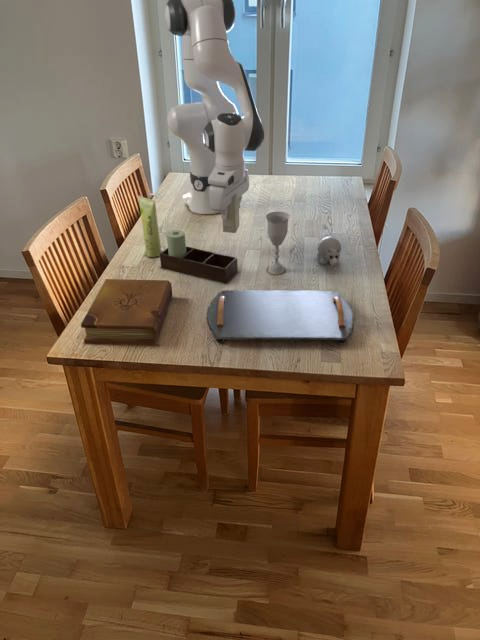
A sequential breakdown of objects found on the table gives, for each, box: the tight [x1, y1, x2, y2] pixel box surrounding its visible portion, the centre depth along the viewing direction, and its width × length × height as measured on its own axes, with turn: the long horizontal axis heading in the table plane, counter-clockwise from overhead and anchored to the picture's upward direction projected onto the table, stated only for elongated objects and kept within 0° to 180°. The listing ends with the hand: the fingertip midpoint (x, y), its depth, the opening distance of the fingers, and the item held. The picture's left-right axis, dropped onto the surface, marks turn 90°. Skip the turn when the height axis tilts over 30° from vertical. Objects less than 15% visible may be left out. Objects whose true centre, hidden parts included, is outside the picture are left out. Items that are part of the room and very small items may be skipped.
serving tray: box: [205, 289, 355, 345], centre depth 138 cm, size 39×23×6 cm, turn 89°
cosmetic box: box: [221, 194, 240, 234], centre depth 166 cm, size 6×4×12 cm
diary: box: [80, 278, 173, 346], centre depth 140 cm, size 23×19×6 cm
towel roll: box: [166, 229, 187, 258], centre depth 163 cm, size 6×6×11 cm
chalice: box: [265, 211, 291, 275], centre depth 158 cm, size 7×7×18 cm
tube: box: [138, 195, 162, 258], centre depth 167 cm, size 6×5×20 cm
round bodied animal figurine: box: [316, 236, 342, 268], centre depth 163 cm, size 7×12×8 cm, turn 3°
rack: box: [159, 245, 238, 285], centre depth 162 cm, size 8×23×5 cm, turn 64°
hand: (230, 213), depth 166 cm, fingers closed on cosmetic box, 6 cm apart
